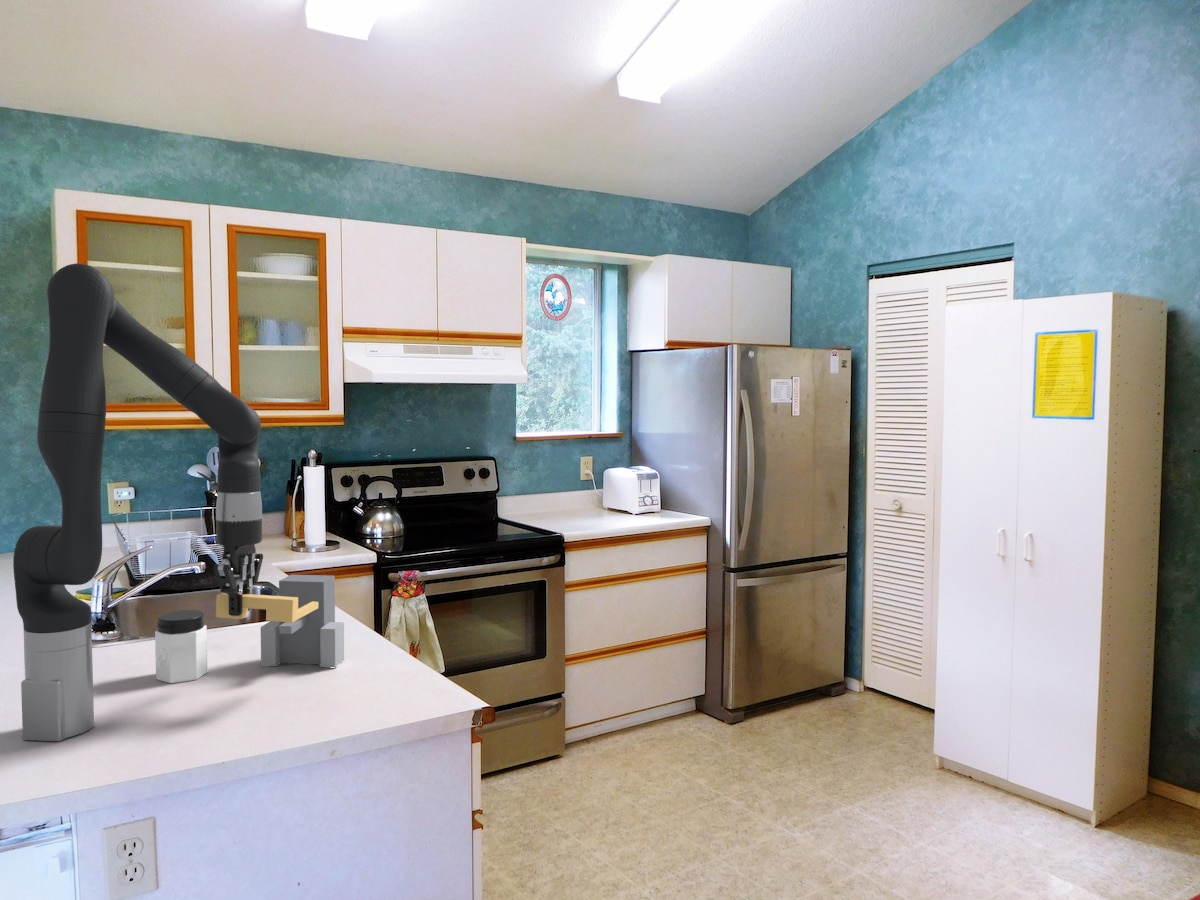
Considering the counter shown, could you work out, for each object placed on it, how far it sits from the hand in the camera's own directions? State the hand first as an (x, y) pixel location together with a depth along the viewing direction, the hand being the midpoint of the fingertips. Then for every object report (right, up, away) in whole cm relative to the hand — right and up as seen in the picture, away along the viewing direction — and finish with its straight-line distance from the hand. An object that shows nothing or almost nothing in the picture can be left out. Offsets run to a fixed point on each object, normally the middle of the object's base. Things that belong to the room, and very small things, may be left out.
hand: (239, 612), depth 151 cm
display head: (+4, -14, +20) cm, 25 cm away
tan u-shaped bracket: (+4, -1, +4) cm, 6 cm away
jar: (-16, -15, +13) cm, 26 cm away
